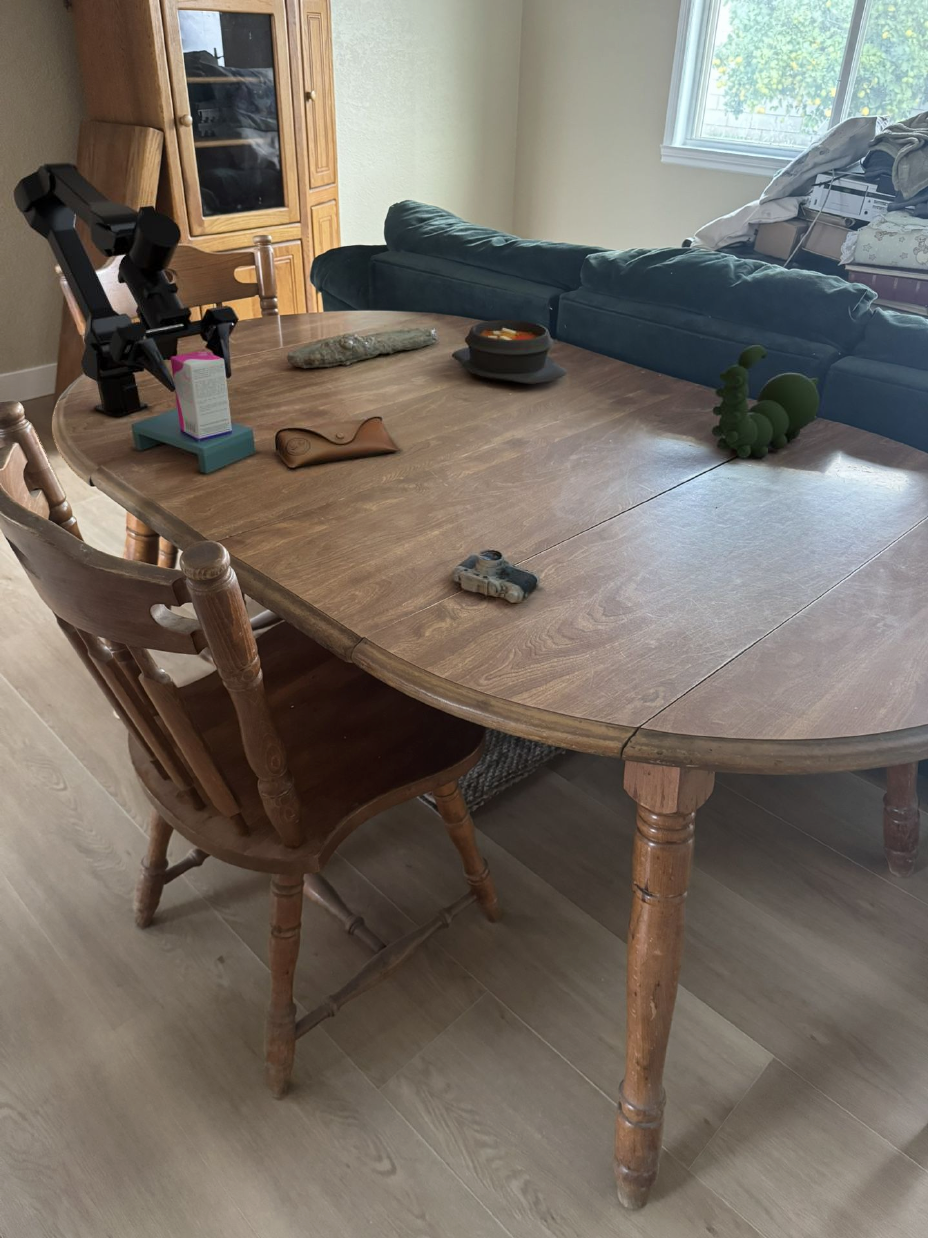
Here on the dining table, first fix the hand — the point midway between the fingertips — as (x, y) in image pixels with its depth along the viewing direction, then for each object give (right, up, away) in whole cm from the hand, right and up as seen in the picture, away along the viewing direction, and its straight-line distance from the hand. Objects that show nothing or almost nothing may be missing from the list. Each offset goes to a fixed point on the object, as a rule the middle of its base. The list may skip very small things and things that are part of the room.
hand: (202, 383), depth 132 cm
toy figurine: (+87, -7, +15) cm, 88 cm away
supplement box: (-1, -6, +5) cm, 8 cm away
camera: (+42, -31, -24) cm, 57 cm away
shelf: (-4, -8, +9) cm, 13 cm away
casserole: (+47, +13, +45) cm, 66 cm away
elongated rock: (+18, +19, +53) cm, 59 cm away
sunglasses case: (+19, -8, +10) cm, 23 cm away
